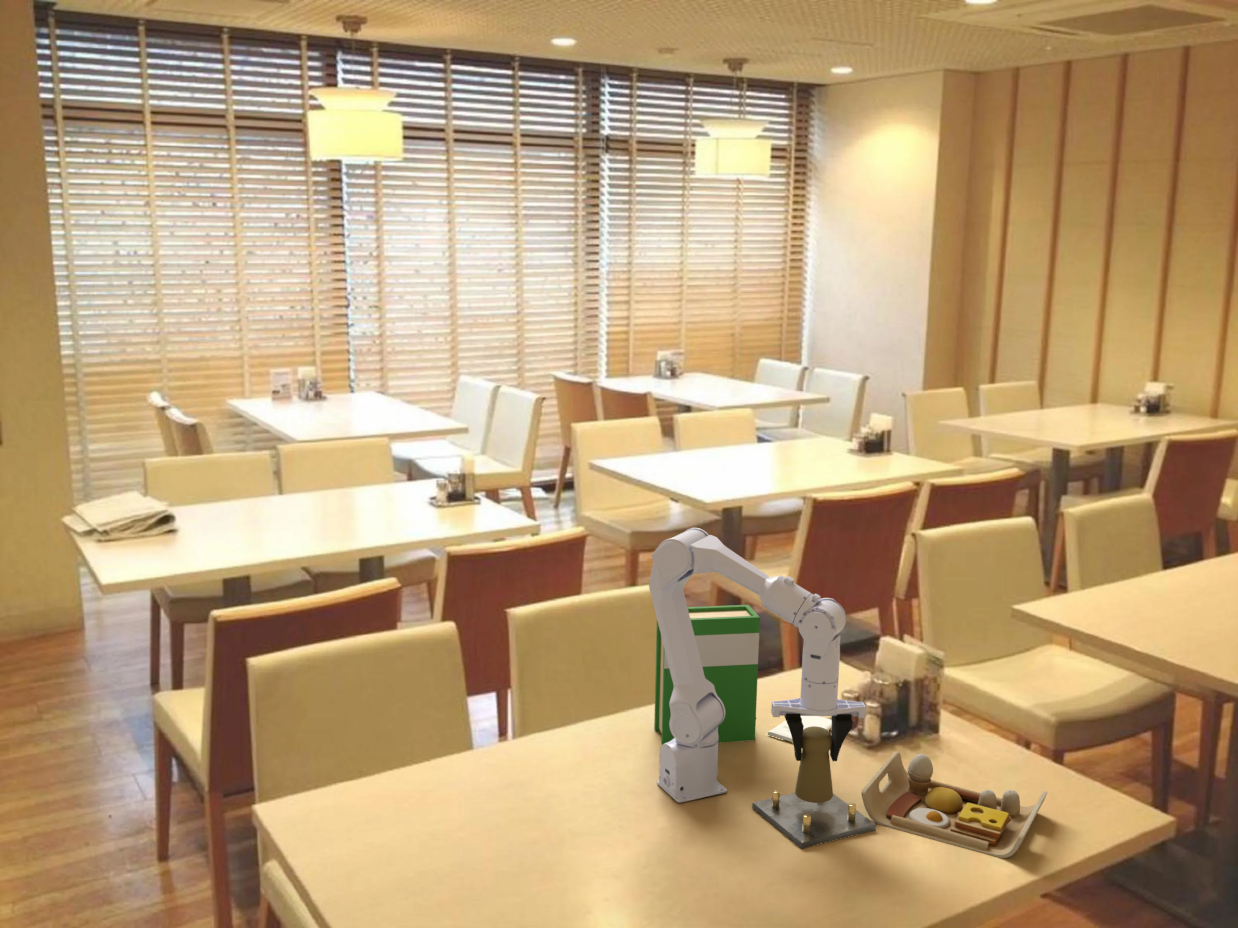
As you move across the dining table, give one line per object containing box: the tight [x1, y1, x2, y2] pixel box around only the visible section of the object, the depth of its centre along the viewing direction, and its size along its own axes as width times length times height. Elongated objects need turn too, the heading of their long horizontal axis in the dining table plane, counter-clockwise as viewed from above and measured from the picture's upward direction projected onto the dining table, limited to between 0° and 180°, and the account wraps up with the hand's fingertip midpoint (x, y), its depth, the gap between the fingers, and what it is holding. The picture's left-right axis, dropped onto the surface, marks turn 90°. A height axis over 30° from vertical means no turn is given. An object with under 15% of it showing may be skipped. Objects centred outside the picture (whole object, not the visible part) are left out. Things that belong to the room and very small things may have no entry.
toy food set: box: [861, 751, 1048, 859], centre depth 181 cm, size 25×18×8 cm
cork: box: [794, 726, 834, 803], centre depth 179 cm, size 6×6×11 cm
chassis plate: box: [752, 790, 877, 850], centre depth 179 cm, size 14×14×4 cm
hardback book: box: [653, 604, 761, 746], centre depth 209 cm, size 18×7×24 cm, turn 100°
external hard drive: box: [767, 716, 832, 742], centre depth 213 cm, size 2×8×12 cm
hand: (815, 758), depth 178 cm, fingers closed on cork, 5 cm apart
